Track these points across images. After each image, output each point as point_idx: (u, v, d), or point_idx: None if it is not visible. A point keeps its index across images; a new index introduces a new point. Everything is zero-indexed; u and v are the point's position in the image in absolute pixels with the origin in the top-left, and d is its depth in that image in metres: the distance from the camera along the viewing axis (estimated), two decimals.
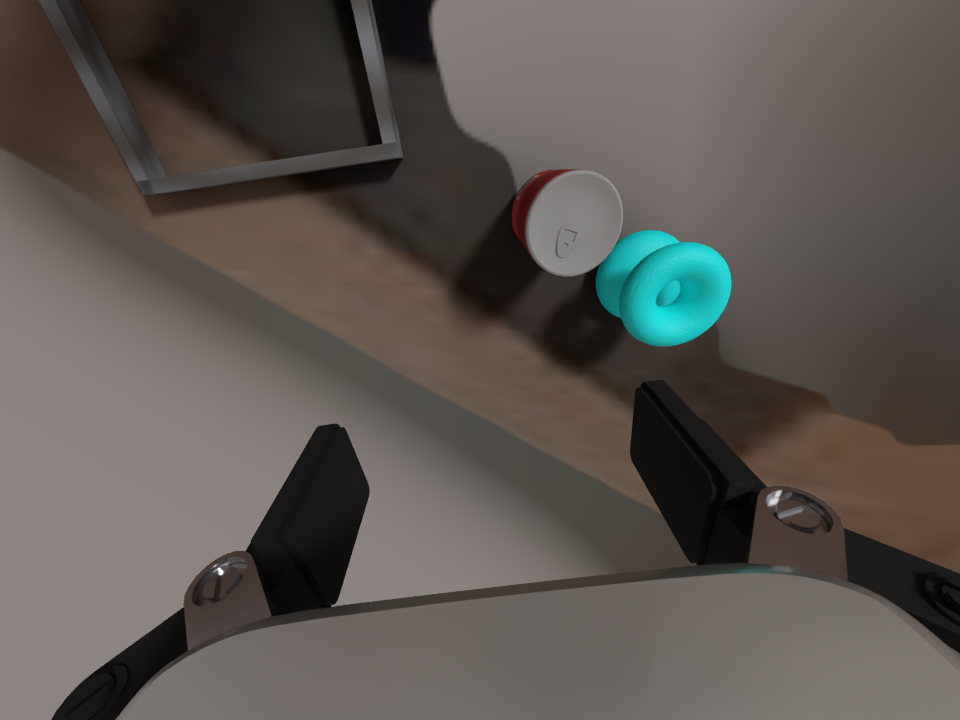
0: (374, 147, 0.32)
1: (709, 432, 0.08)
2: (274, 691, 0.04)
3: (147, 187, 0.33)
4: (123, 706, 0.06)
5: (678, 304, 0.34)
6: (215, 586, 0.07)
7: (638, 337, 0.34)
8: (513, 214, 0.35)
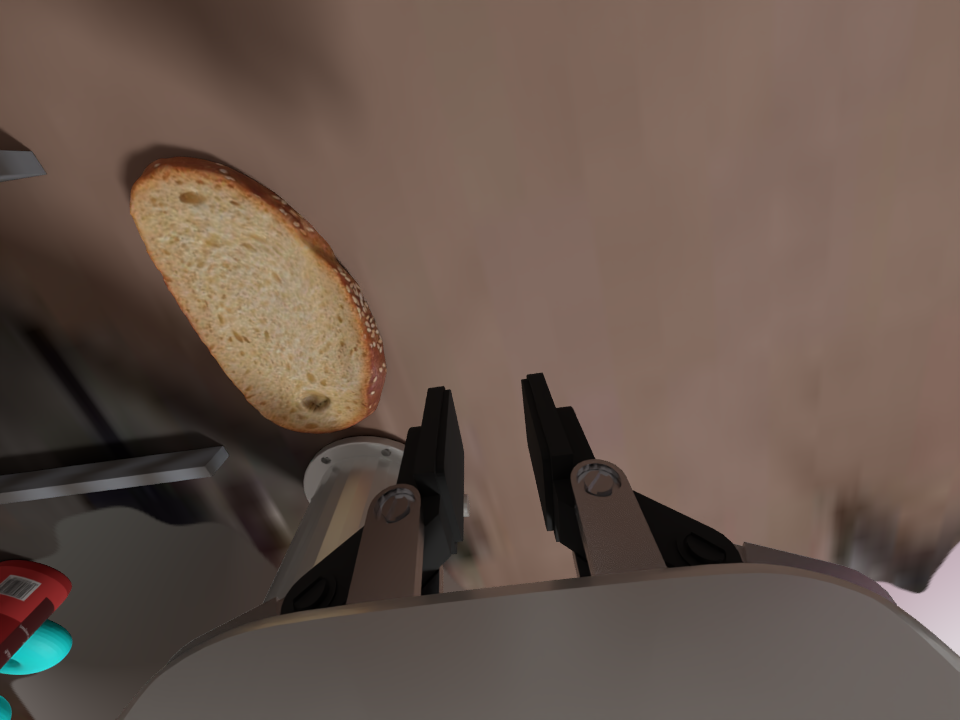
0: None
1: (556, 416, 0.09)
2: (274, 691, 0.04)
3: None
4: None
5: None
6: (390, 510, 0.08)
7: None
8: None
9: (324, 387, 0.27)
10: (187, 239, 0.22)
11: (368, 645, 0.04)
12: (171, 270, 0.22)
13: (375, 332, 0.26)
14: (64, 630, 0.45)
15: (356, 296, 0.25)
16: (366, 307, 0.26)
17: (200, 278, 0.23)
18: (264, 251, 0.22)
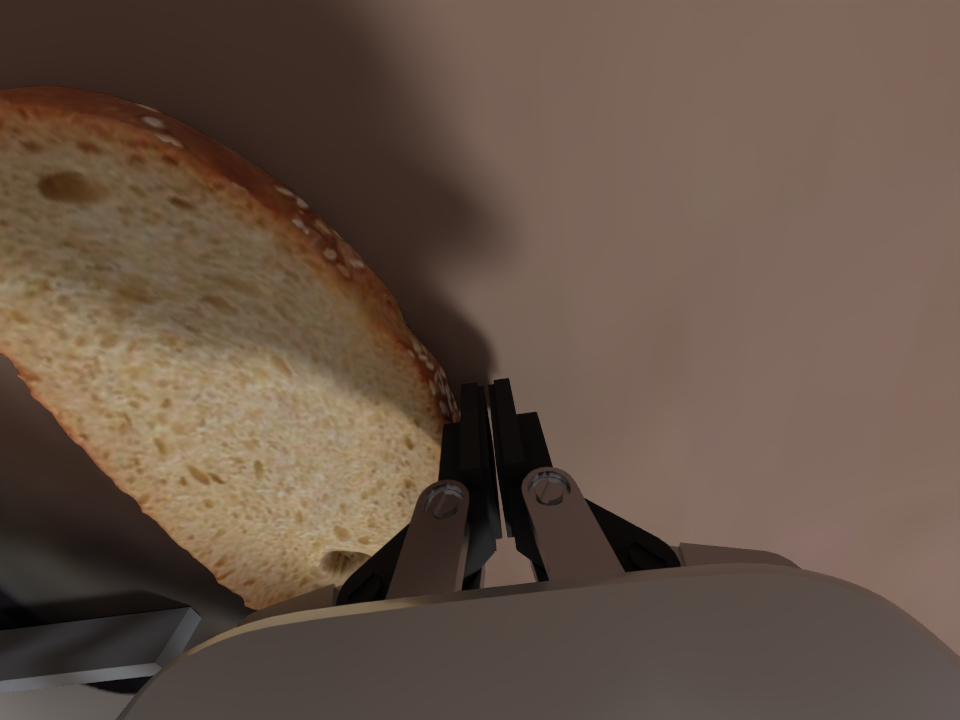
0: None
1: (515, 423, 0.09)
2: (274, 691, 0.04)
3: None
4: None
5: None
6: (438, 506, 0.08)
7: None
8: None
9: (365, 546, 0.15)
10: (70, 288, 0.09)
11: (368, 645, 0.04)
12: (36, 356, 0.09)
13: None
14: None
15: (443, 397, 0.12)
16: (455, 412, 0.13)
17: (110, 369, 0.10)
18: (255, 314, 0.10)
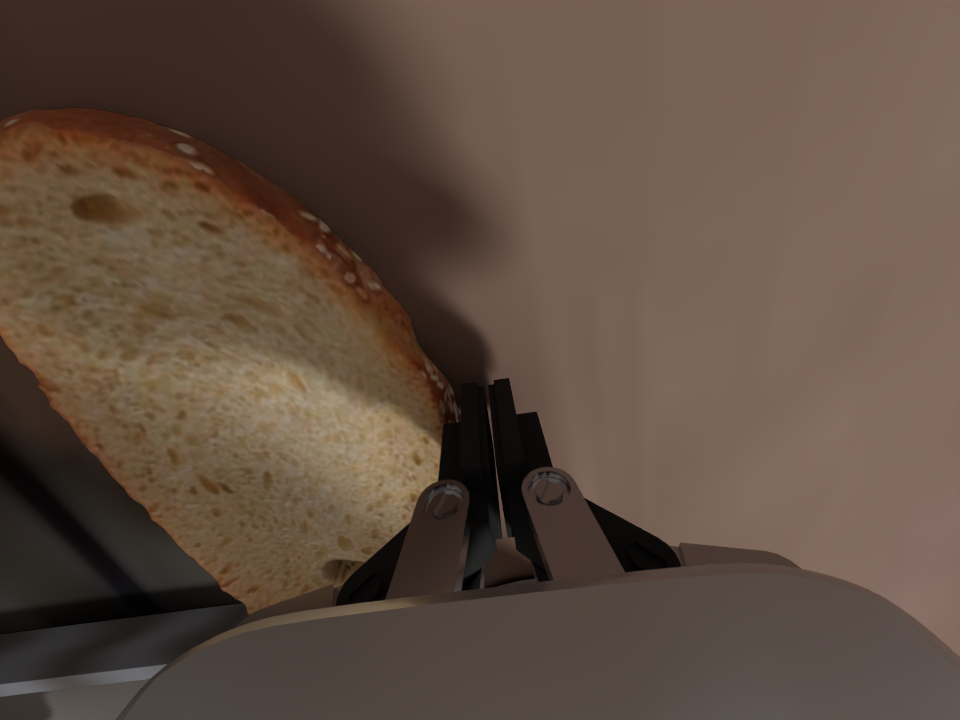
0: None
1: (515, 423, 0.09)
2: (274, 691, 0.04)
3: None
4: None
5: None
6: (438, 506, 0.08)
7: None
8: None
9: (367, 556, 0.15)
10: (95, 302, 0.09)
11: (368, 645, 0.04)
12: (58, 368, 0.10)
13: None
14: None
15: (452, 414, 0.12)
16: None
17: (128, 381, 0.10)
18: (274, 332, 0.10)
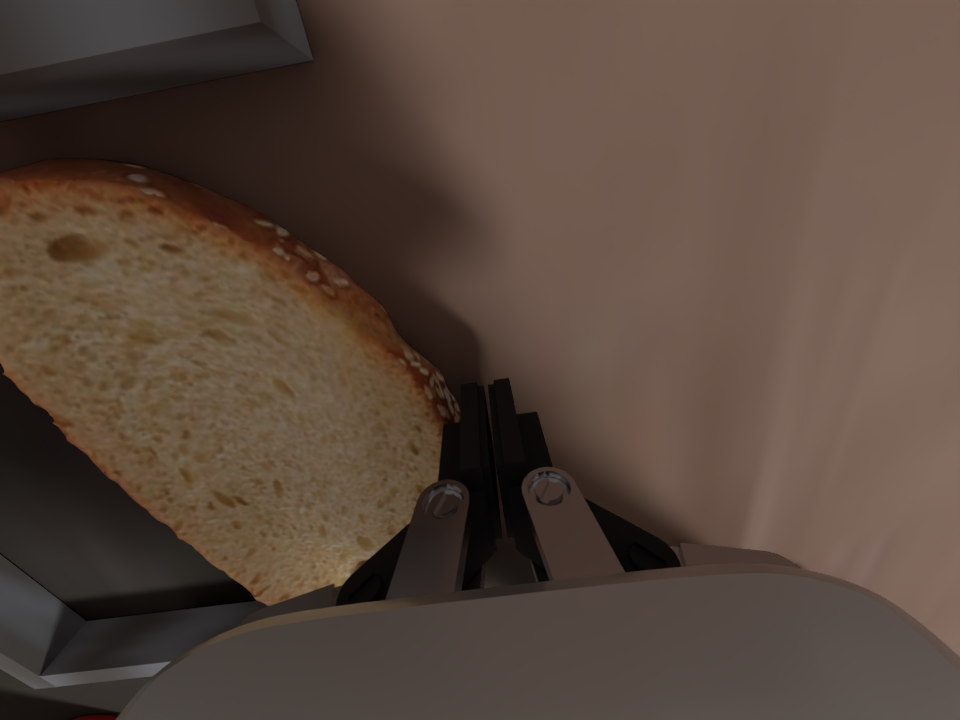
0: (24, 669, 0.17)
1: (515, 423, 0.09)
2: (274, 691, 0.04)
3: None
4: None
5: None
6: (438, 506, 0.08)
7: None
8: None
9: None
10: (87, 338, 0.10)
11: (368, 644, 0.04)
12: (67, 404, 0.10)
13: None
14: None
15: (442, 400, 0.12)
16: (458, 413, 0.13)
17: (132, 408, 0.11)
18: (252, 341, 0.10)
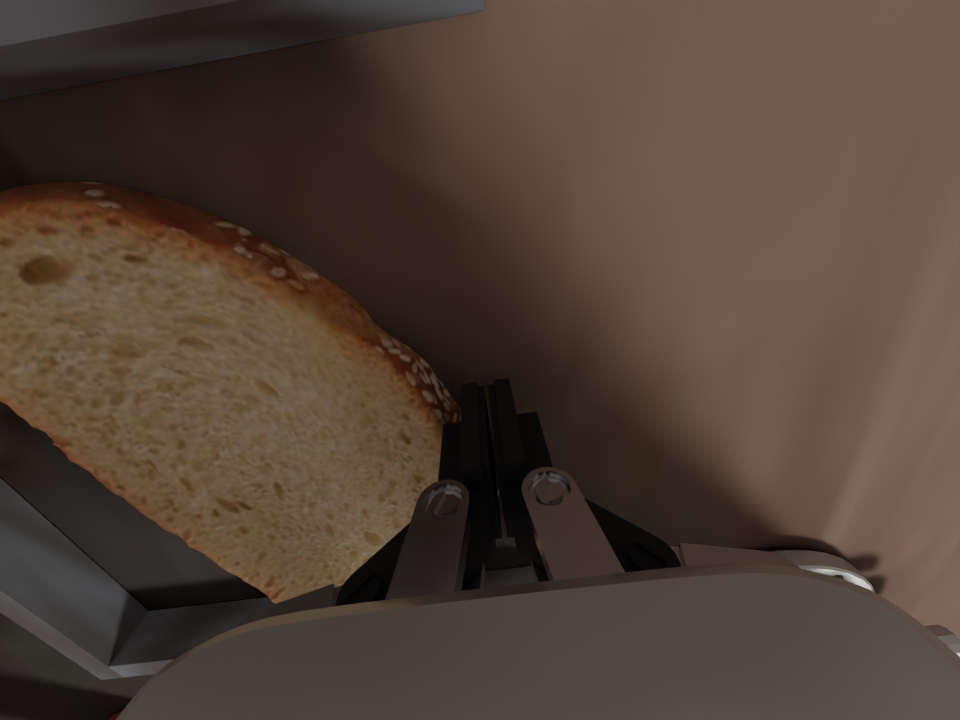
0: (94, 659, 0.17)
1: (515, 423, 0.09)
2: (274, 691, 0.04)
3: None
4: None
5: None
6: (438, 506, 0.08)
7: None
8: None
9: None
10: (72, 358, 0.10)
11: (368, 645, 0.04)
12: (63, 424, 0.11)
13: None
14: None
15: (428, 386, 0.12)
16: (448, 399, 0.13)
17: (125, 423, 0.11)
18: (228, 344, 0.10)
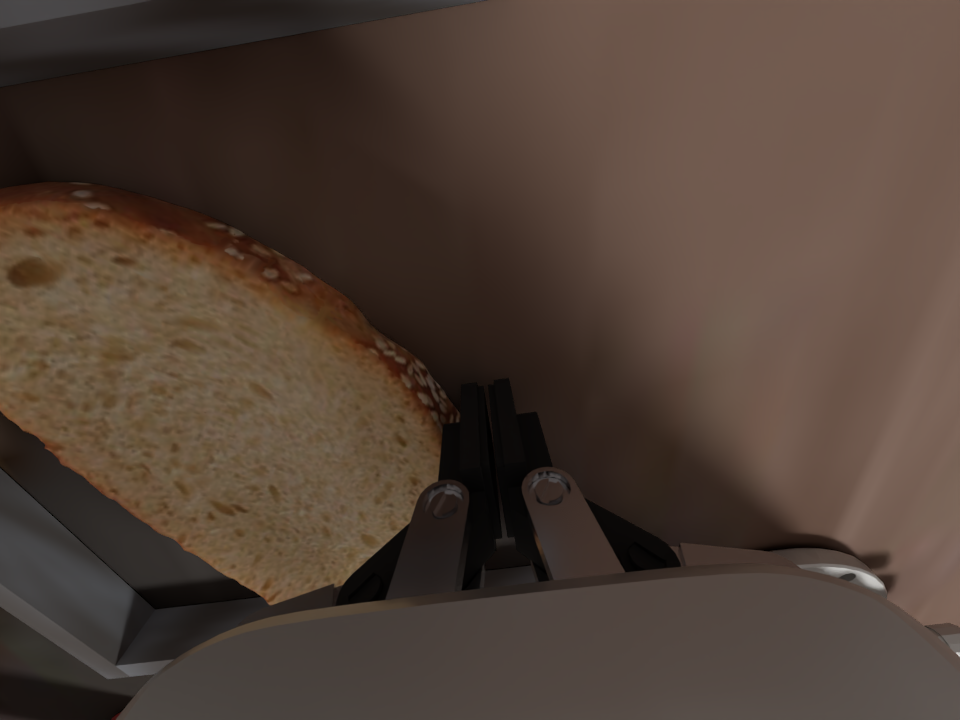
0: (101, 658, 0.17)
1: (515, 423, 0.09)
2: (274, 691, 0.04)
3: None
4: None
5: None
6: (438, 506, 0.08)
7: None
8: None
9: None
10: (63, 361, 0.10)
11: (368, 645, 0.04)
12: (54, 428, 0.11)
13: None
14: None
15: (423, 388, 0.12)
16: (444, 401, 0.13)
17: (118, 426, 0.11)
18: (220, 347, 0.10)
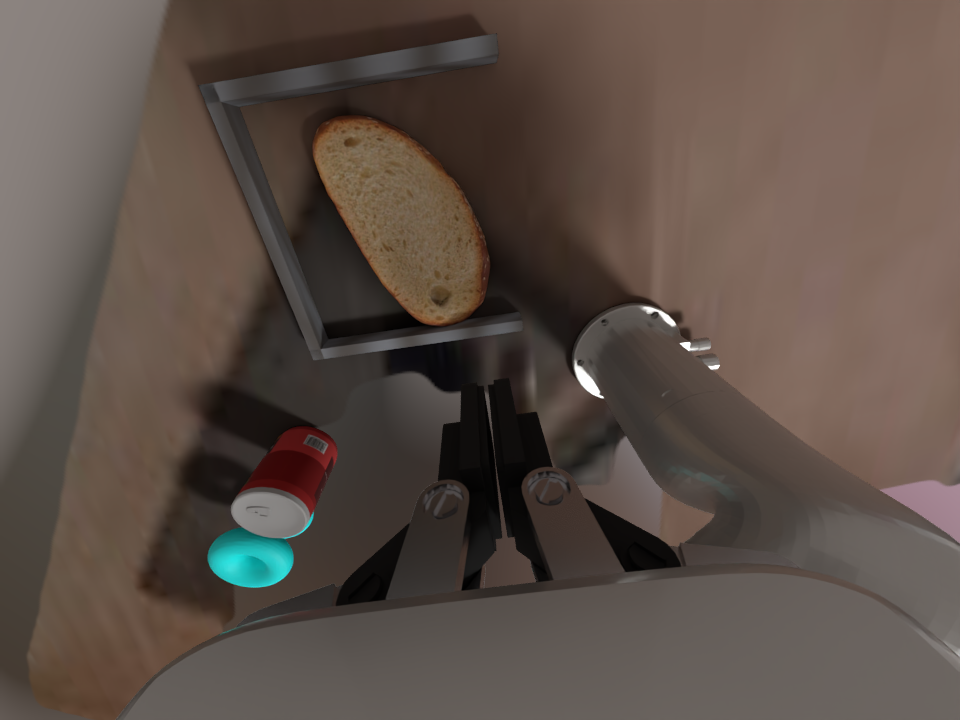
0: (316, 342, 0.38)
1: (515, 423, 0.09)
2: (274, 691, 0.04)
3: (210, 96, 0.27)
4: None
5: (249, 558, 0.46)
6: (438, 506, 0.08)
7: (209, 551, 0.43)
8: (295, 435, 0.44)
9: (447, 281, 0.36)
10: (349, 175, 0.31)
11: (368, 645, 0.04)
12: (341, 200, 0.31)
13: (480, 228, 0.34)
14: None
15: (465, 198, 0.33)
16: (471, 209, 0.34)
17: (359, 203, 0.32)
18: (400, 173, 0.31)
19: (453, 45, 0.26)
